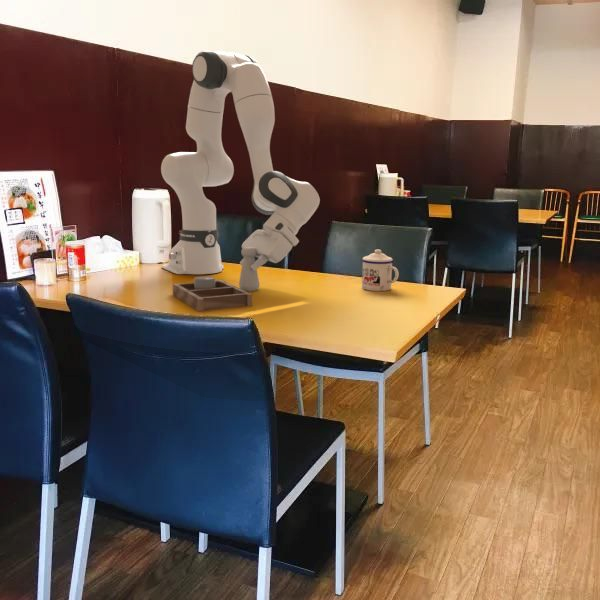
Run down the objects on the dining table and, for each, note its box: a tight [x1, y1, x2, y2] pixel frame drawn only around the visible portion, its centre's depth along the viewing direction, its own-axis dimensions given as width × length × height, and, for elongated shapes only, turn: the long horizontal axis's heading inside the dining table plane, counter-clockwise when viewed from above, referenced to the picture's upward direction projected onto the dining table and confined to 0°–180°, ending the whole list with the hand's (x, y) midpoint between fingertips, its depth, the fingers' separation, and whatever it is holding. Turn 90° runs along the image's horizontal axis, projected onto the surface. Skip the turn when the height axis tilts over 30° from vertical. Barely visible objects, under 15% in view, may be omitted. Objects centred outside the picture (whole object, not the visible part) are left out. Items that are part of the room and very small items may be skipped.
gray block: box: [193, 275, 216, 290], centre depth 166 cm, size 6×6×5 cm
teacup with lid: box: [361, 249, 400, 292], centre depth 183 cm, size 12×9×12 cm
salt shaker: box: [238, 247, 260, 292], centre depth 176 cm, size 6×6×13 cm
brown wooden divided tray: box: [172, 279, 253, 312], centre depth 162 cm, size 21×14×4 cm
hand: (247, 267), depth 175 cm, fingers open, 5 cm apart
